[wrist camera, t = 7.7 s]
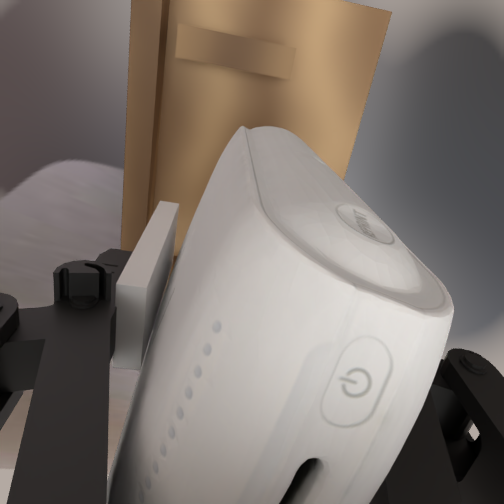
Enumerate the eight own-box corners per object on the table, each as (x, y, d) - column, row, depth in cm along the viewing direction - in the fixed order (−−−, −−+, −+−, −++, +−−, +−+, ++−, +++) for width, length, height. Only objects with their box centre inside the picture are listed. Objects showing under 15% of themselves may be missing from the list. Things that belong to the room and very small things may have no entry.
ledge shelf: (130, 291, 31) (113, 329, 27) (149, -39, 22) (129, -65, 18) (299, 312, 33) (310, 352, 29) (383, 14, 24) (418, 3, 19)
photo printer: (236, 101, 14) (249, 239, 3) (337, 149, 15) (624, 385, 4) (149, 317, 18) (19, 717, 7) (234, 344, 19) (237, 735, 8)
